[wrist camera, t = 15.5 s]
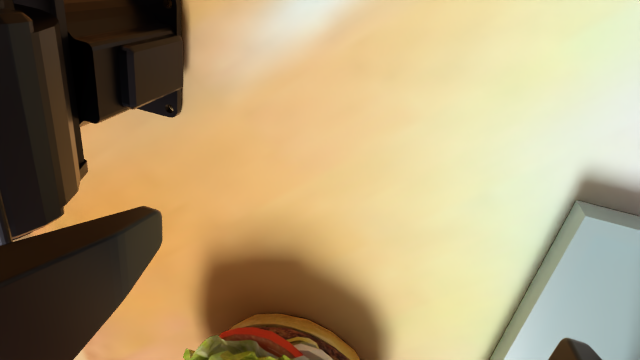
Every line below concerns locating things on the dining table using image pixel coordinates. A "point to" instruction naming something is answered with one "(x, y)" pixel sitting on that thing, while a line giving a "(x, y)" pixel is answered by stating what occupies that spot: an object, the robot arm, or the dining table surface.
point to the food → (274, 341)
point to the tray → (582, 290)
